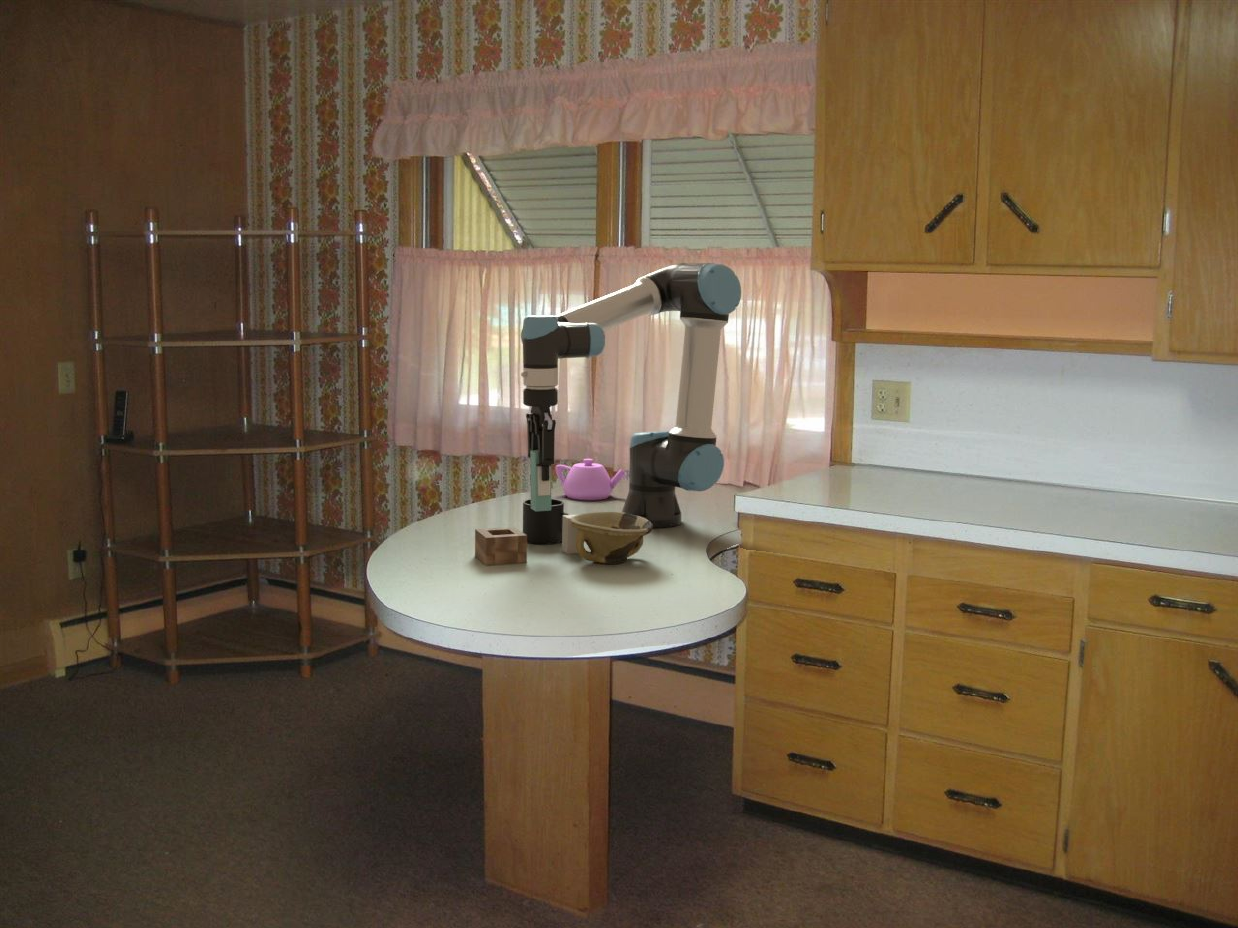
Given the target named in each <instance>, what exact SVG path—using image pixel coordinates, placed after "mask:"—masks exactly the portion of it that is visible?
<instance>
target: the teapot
mask: <svg viewBox="0 0 1238 928" xmlns="http://www.w3.org/2000/svg"><path fill="white" fill-rule="evenodd" d="M562 470H567V471H568V473H567V474H566V476H565V478H564V476H563V473H562ZM555 473H556V476H557V477H558V479H559V481H560V482H561V484H562V486H563V487H562V491H563V493H564V494H565V495H566V497H567V498H569V499H572V500H579V501H599V500H600V501H601V500H605V499H608V497H610V495H612V493H613V489H615V488H616V486H617V485H618V484H619V483H621V480H623V478H625V477H626V475H627V472H626V471H625V470H624V469H622V468H620V469H619V470H618V471H617V472H616V474H615V475H614V476H613V477H612V478H611V477H610V474H609V473H608V472H607V469H606V468H605V467H604V465H603V464H600V463H596V462H595V463H594V459H593V458H584V459H583V462H581V463H580V462H579V463H575V464H573V466H572V467H571V466H570V465H569V466H568V465H565V464H557V465H556V466H555Z"/></svg>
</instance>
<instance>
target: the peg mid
mask: <svg viewBox="0 0 1238 928" xmlns="http://www.w3.org/2000/svg"><path fill="white" fill-rule="evenodd" d="M576 515H577V514H569V515H563V523H562V541H561V542H562V543H561V550H562V552H564V553H565V554H567V555H568V554H569V555H571V554H579V553H578V552H577V549H576V539H577V536H578V532H579V531H578V530H577V528H574V527H572V525H571V521H570V519H571V518H572V517H574V516H576Z"/></svg>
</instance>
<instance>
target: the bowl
mask: <svg viewBox="0 0 1238 928" xmlns="http://www.w3.org/2000/svg"><path fill="white" fill-rule="evenodd" d="M575 515H576V516H574V517H572V518H571V519H570V521H571V525H572V527H574V528H577V530H578V531H579V532H578V536H577V539H576V549H577V552H578V553H577V554H578V555H579V556H580V557H581V558H583V559H585V560H586V561H589V562H595V563H599V564H605V565H620V564H622V563H625V561H627V559H628V558H630V557H631V556H634V555H635V554H636V553H638V552H639V551H640V549H642V547H643V546H644V545H643V544H644V536H647V535H648V534H650V533H651V532H652V529H653V524H652V523H651V522H650V521H648V520H647V519H645V518H643V517H640V516H636V515H632V514H628V513H622V511H595V512H585V513H583V512H582V513H579V514H575ZM585 544H586V545H587V547H588V549H589V550H590V551H588V550H587V549H586V548H585Z"/></svg>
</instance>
